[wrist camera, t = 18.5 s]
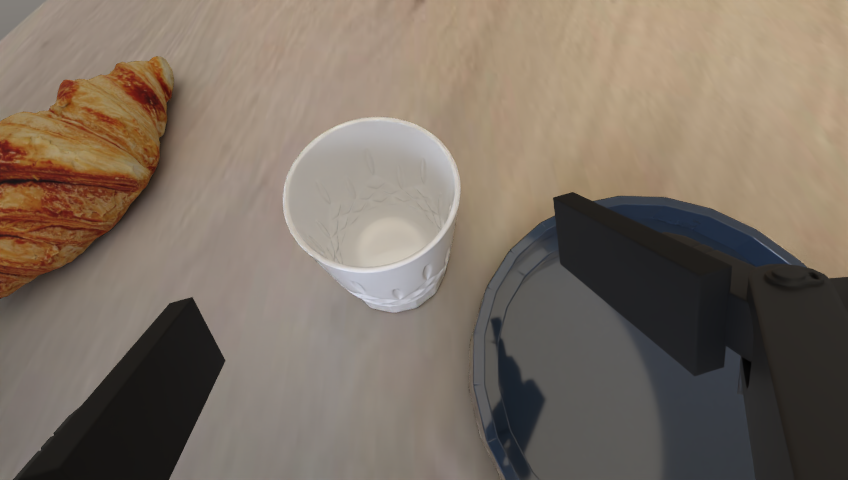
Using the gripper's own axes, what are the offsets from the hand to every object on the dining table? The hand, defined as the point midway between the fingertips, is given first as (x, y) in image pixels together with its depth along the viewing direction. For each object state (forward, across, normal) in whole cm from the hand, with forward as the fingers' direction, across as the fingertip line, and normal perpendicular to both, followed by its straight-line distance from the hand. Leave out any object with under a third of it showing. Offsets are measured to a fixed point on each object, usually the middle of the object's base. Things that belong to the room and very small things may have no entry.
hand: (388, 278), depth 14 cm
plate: (+4, +12, -12) cm, 18 cm away
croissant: (+21, -19, +4) cm, 29 cm away
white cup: (+12, 0, -5) cm, 13 cm away
